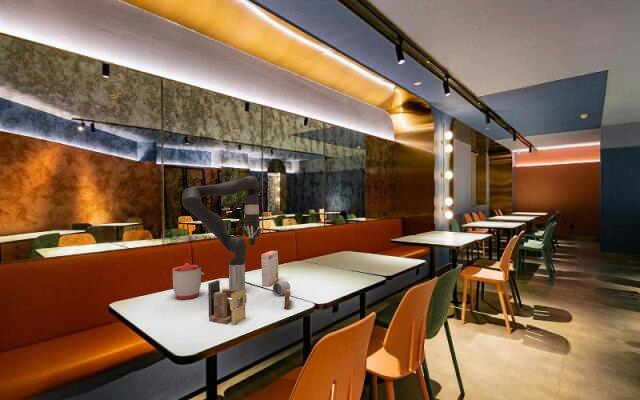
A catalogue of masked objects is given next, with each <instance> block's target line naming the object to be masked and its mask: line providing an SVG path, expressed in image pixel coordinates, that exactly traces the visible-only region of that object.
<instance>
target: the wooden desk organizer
mask: <svg viewBox="0 0 640 400" xmlns="http://www.w3.org/2000/svg"><path fill="white" fill-rule="evenodd" d="M220 281H221V280H220V279H219V280H218V279H216V280H213V281H211V282H208V284H207V285H208V289H207V290H208V292H207V293H208V298H207V299H208V318H209V317H210V316H212V315H214V293H216V292H221V290H220V289H221V288H220V286H221V283H220ZM231 300H232V298H231V297H227V304H230V301H231ZM241 302H242V301H241V299H240V298H239V299H237V306H238V305H240V304H241Z"/></svg>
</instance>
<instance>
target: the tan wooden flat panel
mask: <svg viewBox="0 0 640 400" xmlns="http://www.w3.org/2000/svg"><path fill="white" fill-rule="evenodd" d="M231 298H232V300H231V301H230V310H232V322H231V325H234V326H235V325H237V324H239V323H240V322H242V321H243V320H246V304H248V303H247V301H248V300H247V299H248V298H247V294H246V288H245V289H240V290H238V291H236V292H234V293H231ZM237 299H241V301H242V302H241V304H240V305H237Z"/></svg>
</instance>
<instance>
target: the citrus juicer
mask: <svg viewBox="0 0 640 400" xmlns="http://www.w3.org/2000/svg"><path fill="white" fill-rule="evenodd" d="M202 275H204V276H205V272H203V271H202V267H201V266H200V267H199V265H197V264H190V263H188V262H185V263H184V264H183V265H180V266H175V267H173V268H172V287H173V289H172V290H173V293H174V295H175V297H176V299H177V300H181V301H183V300H189V299H194V298H196V297H198V296H199V293H200V291H201V286H202Z"/></svg>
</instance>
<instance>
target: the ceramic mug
mask: <svg viewBox="0 0 640 400" xmlns="http://www.w3.org/2000/svg"><path fill="white" fill-rule="evenodd" d="M272 286H273V287H272V294H274V295H275V296H277V297H281V296H282V295H285V288H290V289H291V285H290V283H289V282H288V281H285V280H284V281H278V282H276V283H275V284H273V285H272Z"/></svg>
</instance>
